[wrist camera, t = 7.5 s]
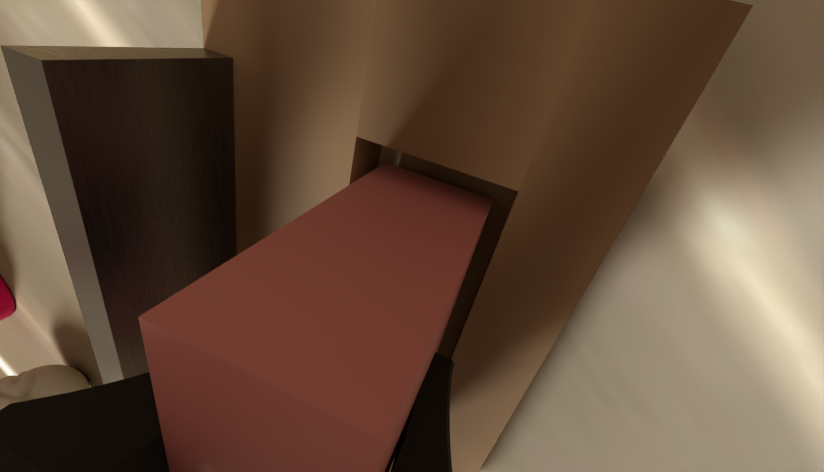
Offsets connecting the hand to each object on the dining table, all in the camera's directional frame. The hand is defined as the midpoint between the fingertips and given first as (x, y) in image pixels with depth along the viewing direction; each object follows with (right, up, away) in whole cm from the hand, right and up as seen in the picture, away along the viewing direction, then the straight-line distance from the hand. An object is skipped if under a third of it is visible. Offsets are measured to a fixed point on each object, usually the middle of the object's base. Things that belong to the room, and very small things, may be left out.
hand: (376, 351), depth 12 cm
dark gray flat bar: (-6, +3, +2) cm, 7 cm away
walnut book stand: (0, +2, +3) cm, 4 cm away
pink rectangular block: (+1, +1, +2) cm, 2 cm away
